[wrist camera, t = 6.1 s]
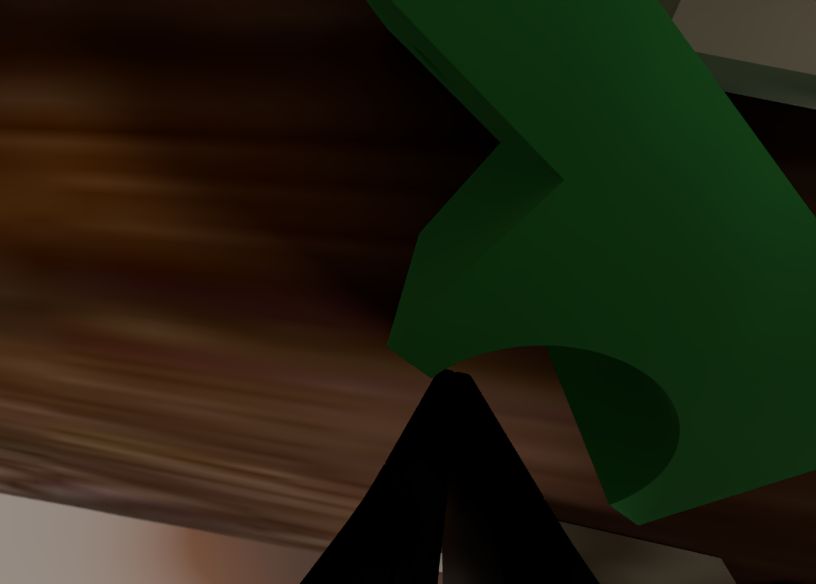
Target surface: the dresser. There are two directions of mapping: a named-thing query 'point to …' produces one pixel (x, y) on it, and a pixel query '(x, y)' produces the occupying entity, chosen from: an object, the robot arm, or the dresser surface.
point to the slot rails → (746, 75)
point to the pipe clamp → (619, 246)
